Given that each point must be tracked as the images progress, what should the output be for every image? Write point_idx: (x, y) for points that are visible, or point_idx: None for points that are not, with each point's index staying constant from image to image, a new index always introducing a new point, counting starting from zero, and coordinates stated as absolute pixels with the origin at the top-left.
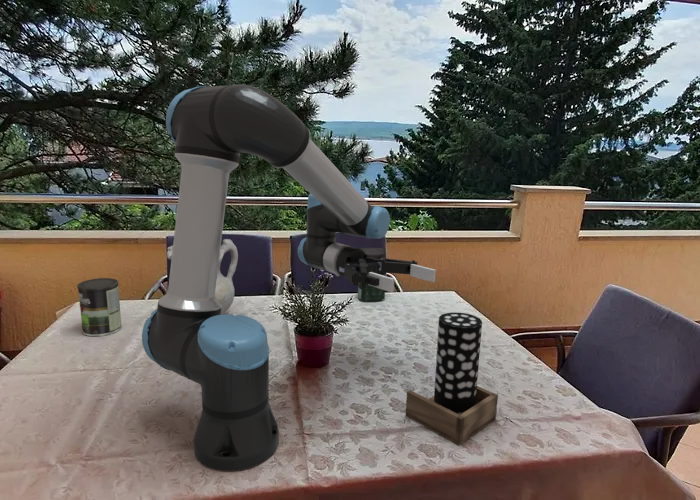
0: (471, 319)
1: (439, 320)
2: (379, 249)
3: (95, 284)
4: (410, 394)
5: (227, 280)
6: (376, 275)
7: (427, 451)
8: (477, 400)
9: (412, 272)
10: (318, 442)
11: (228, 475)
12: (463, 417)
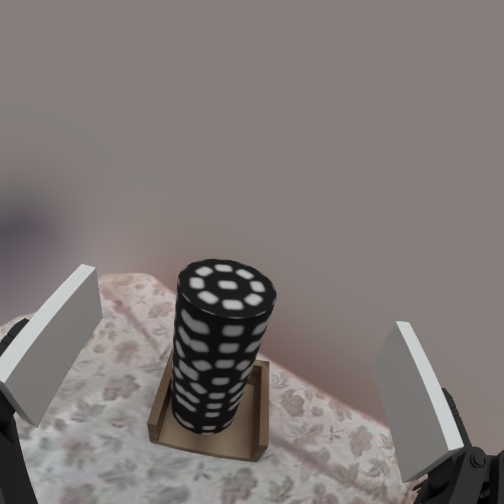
0: (209, 271)
1: (265, 313)
2: None
3: None
4: (267, 439)
5: None
6: (442, 397)
7: (297, 404)
8: None
9: (34, 400)
10: (393, 488)
11: None
12: (263, 361)
